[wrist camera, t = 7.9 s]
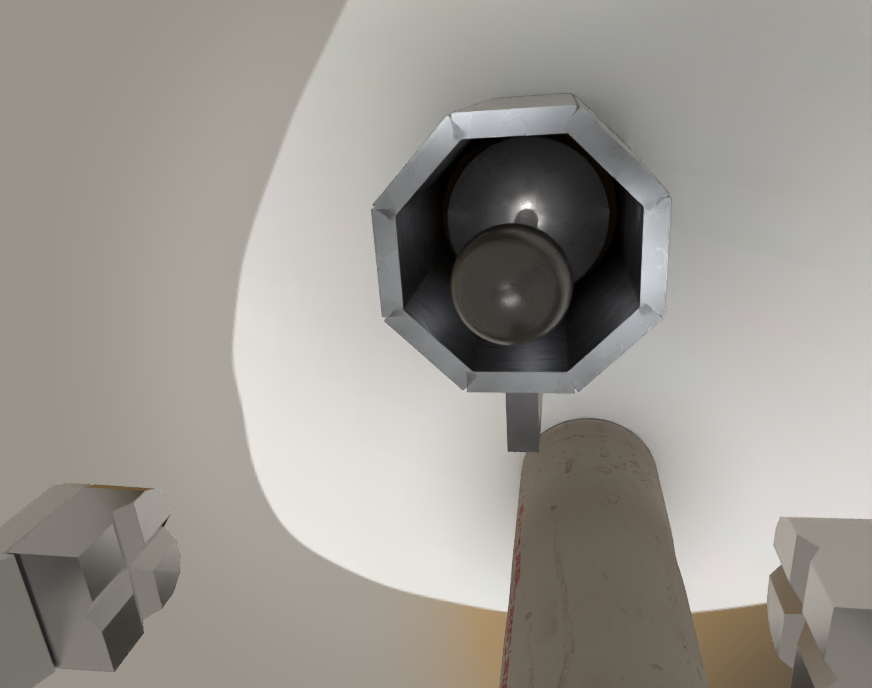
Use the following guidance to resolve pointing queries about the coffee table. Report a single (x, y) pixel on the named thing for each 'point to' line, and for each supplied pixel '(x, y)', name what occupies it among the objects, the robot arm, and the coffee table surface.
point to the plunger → (523, 236)
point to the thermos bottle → (596, 570)
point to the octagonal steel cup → (592, 293)
